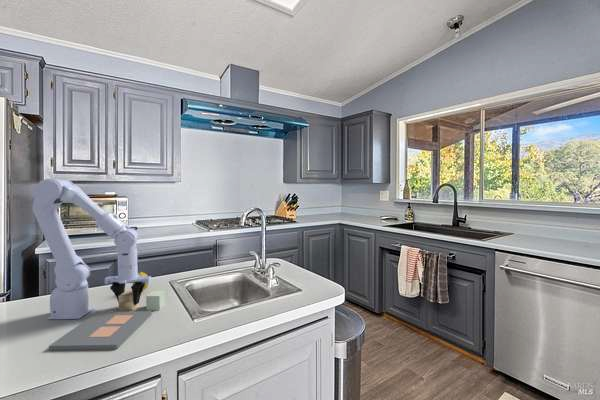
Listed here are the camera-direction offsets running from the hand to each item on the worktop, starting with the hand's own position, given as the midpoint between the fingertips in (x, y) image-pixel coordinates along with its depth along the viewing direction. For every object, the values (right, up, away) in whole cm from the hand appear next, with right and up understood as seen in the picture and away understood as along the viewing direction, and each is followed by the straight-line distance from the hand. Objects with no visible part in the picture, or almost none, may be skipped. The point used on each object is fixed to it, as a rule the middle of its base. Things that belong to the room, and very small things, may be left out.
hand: (129, 303), depth 98 cm
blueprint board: (+2, -3, -15) cm, 15 cm away
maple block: (0, -1, 0) cm, 1 cm away
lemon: (-4, -1, +14) cm, 14 cm away
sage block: (+9, -2, 0) cm, 9 cm away
